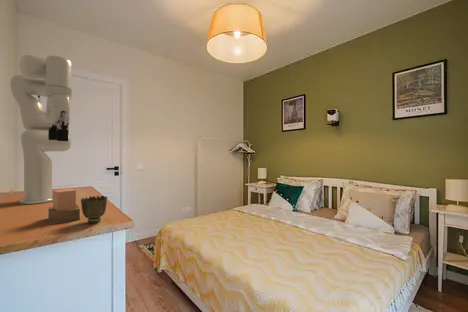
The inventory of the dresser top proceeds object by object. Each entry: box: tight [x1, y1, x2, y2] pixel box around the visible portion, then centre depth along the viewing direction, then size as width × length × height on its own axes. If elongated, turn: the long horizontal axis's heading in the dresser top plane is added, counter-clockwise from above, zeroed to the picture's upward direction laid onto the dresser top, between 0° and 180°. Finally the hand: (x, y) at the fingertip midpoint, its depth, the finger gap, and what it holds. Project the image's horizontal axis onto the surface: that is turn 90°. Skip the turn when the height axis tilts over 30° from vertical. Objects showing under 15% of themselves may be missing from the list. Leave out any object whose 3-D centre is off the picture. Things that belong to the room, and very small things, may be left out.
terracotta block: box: [52, 188, 77, 211], centre depth 79 cm, size 5×5×6 cm
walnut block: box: [47, 204, 81, 225], centre depth 79 cm, size 8×8×4 cm
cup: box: [80, 195, 108, 224], centre depth 76 cm, size 8×7×8 cm
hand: (58, 140), depth 85 cm, fingers open, 9 cm apart
